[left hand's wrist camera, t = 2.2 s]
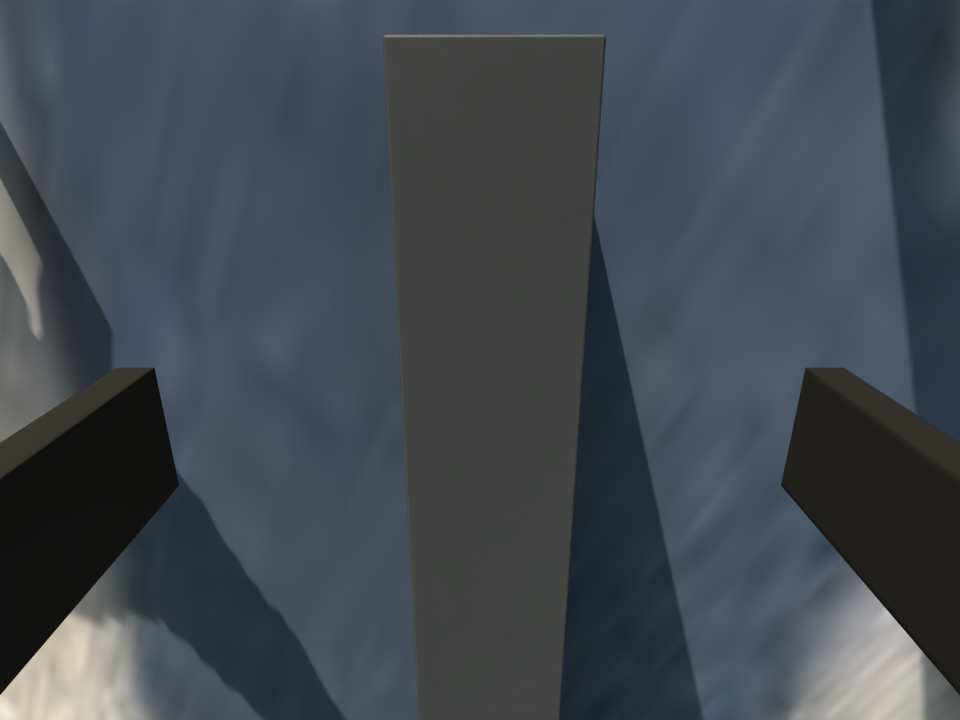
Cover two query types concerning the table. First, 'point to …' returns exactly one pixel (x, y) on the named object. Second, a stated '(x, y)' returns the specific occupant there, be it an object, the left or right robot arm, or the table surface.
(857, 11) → the table surface
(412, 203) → the post
